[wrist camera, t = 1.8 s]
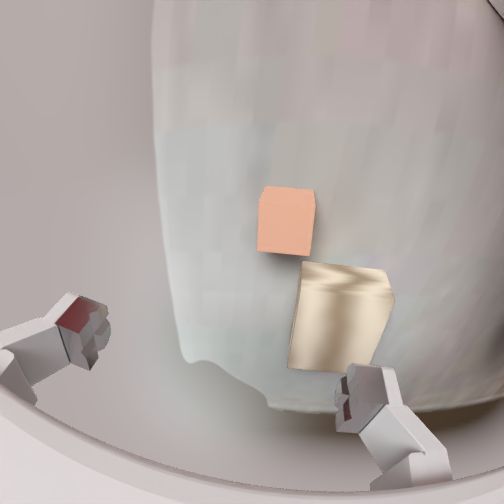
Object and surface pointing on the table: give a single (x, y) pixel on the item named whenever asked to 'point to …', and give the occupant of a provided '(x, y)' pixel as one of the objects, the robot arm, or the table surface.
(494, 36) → the table surface
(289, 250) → the terracotta cube
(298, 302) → the birch block
